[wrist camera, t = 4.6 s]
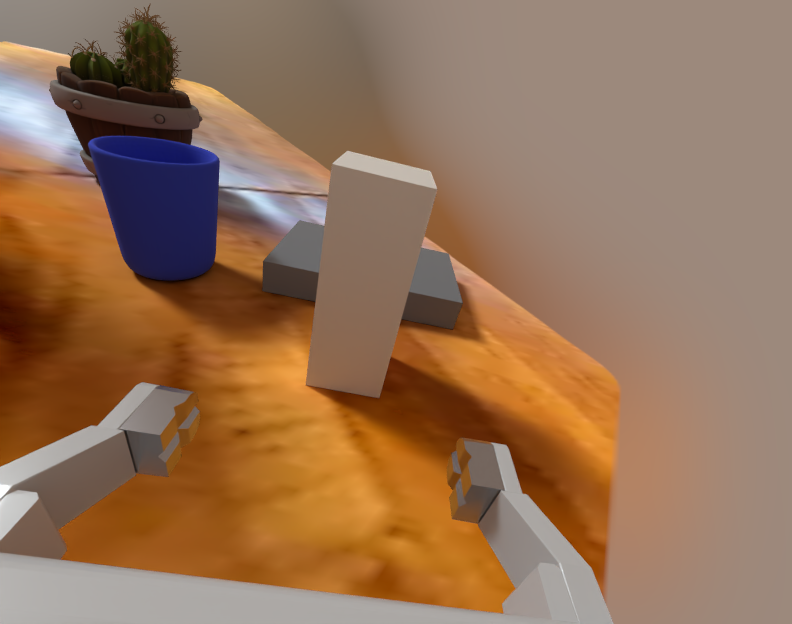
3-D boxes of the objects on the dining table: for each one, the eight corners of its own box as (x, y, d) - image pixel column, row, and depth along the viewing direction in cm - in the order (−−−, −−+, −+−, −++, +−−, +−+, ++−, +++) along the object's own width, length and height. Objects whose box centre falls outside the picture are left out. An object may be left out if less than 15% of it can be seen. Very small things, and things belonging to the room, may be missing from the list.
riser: (262, 290, 31) (263, 260, 30) (297, 244, 42) (299, 220, 40) (452, 329, 33) (462, 303, 31) (441, 275, 43) (448, 253, 42)
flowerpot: (36, 173, 42) (-32, -52, 32) (144, 162, 55) (121, 0, 45) (141, 207, 40) (105, -17, 30) (226, 187, 54) (221, 26, 43)
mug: (169, 229, 37) (157, 127, 32) (242, 274, 33) (241, 164, 28) (74, 243, 31) (40, 119, 26) (149, 300, 27) (125, 164, 22)
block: (305, 384, 23) (331, 163, 16) (321, 340, 27) (347, 150, 20) (379, 398, 23) (437, 189, 16) (383, 352, 28) (430, 171, 21)
